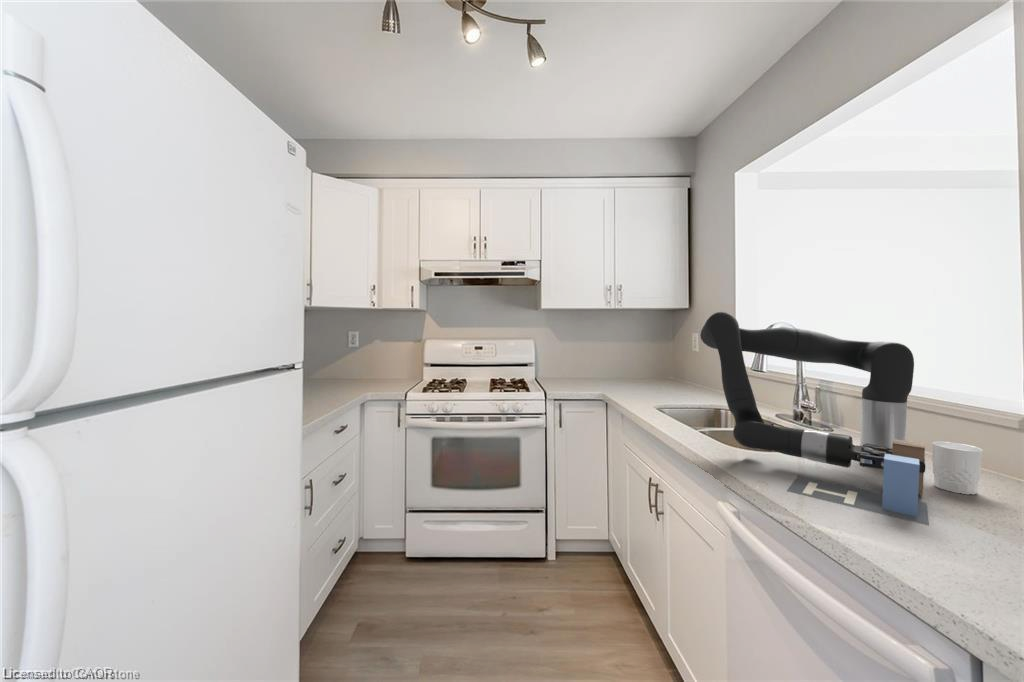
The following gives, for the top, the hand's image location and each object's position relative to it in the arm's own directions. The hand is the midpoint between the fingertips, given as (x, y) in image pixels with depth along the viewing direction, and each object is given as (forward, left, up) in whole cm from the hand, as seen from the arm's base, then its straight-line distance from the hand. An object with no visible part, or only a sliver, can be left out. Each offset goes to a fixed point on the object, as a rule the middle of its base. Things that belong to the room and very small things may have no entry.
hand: (924, 464), depth 88 cm
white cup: (-13, +5, -8) cm, 16 cm away
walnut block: (0, -3, -6) cm, 6 cm away
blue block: (+13, -4, -7) cm, 15 cm away
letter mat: (+12, -11, -7) cm, 18 cm away
